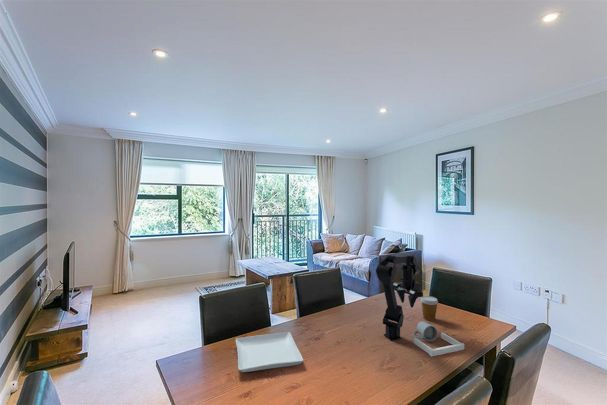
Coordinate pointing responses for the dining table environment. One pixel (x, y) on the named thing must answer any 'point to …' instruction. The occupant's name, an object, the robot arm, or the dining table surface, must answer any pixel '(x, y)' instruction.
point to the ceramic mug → (425, 331)
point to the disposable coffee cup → (429, 307)
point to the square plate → (267, 352)
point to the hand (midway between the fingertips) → (407, 305)
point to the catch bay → (443, 350)
